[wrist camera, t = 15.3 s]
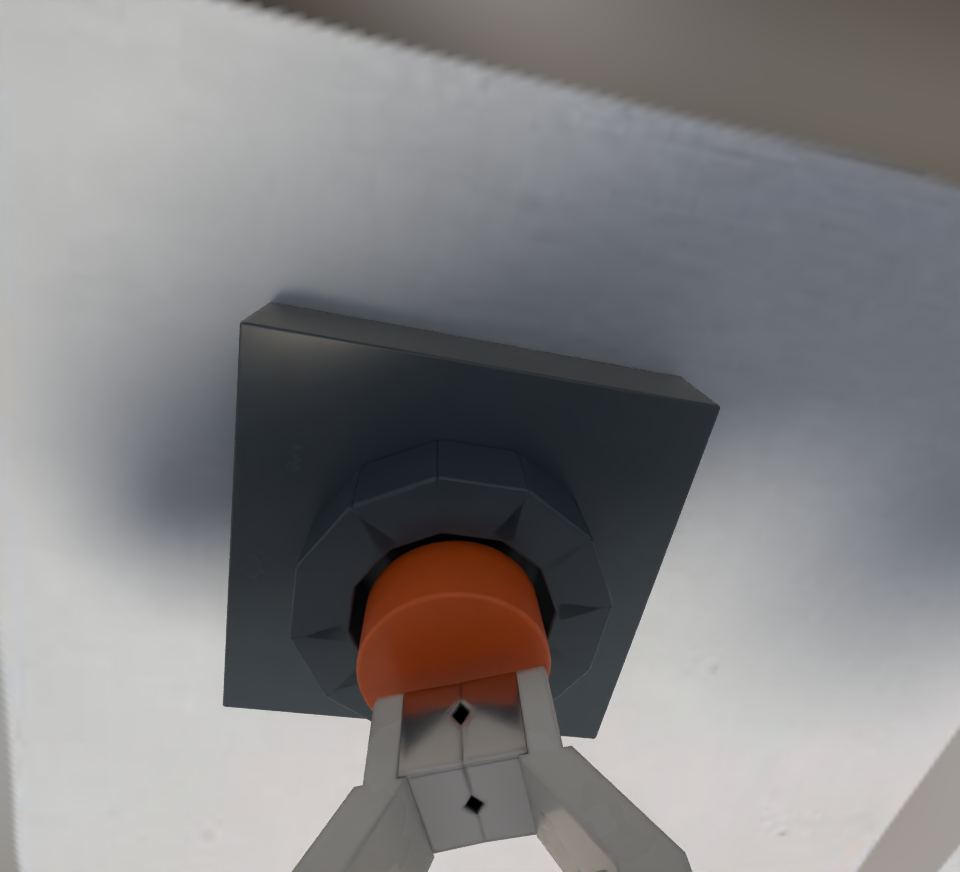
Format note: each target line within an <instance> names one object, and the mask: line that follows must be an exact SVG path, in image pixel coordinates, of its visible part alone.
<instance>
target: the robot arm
mask: <svg viewBox="0 0 960 872" xmlns="http://www.w3.org/2000/svg"><path fill="white" fill-rule="evenodd" d="M516 672H517V675H516ZM535 834H537V837H538V838H539V840H540V841H541V842H542V844H543V845H544V846H545V848H546V849H547V851H548V852H549V853H550V855H551V856H552V857H553V859H554V860H555V861H556V863H557V864H558V865H559V867H560V868H561V869H562V871H563V872H692V870H691V867H690V864H689V862H688V859H687V856H686V854H685V852H684V851H683V850H682V849H681V848H680V847H679V846H678V845H677V844H676V843H675V842H673V841H672V840H671V839H670V838H669V837H668V836H667V835H666V834H665V833H664V832H663V831H662V830H661V829H660V828H659V827H658V826H656V825H655V824H654V823H653V822H652V821H651V820H650V819H649V818H648V817H647V816H646V815H645V814H644V813H643V812H642V811H641V810H639V809H638V808H637V807H636V806H635V805H634V804H633V803H632V802H631V801H630V800H629V799H628V798H627V797H626V796H625V795H624V794H622V793H621V792H620V791H619V790H618V789H617V788H616V787H615V786H614V785H613V784H612V783H611V782H610V781H609V780H608V779H606V778H605V777H604V776H603V775H602V774H601V773H600V772H599V771H598V770H597V769H596V768H595V767H594V766H593V765H592V764H591V763H589V762H588V761H587V760H586V759H585V758H584V757H583V756H582V755H581V754H580V753H579V752H578V751H577V750H576V749H575V748H574V747H572V746H568V747H563V745H562V740H561V736H560V731H559V727H558V722H557V718H556V713H555V708H554V704H553V699H552V695H551V690H550V685H549V681H548V676H547V672H546V669H545V667H544V666H540V667H535V668H530V669H525V670H520V671H515V672H511V673H506V674H501V675H496V676H491V677H486V678H481V679H476V680H471V681H466V682H461V683H459V684H453V685H446V686H440V687H434V688H428V689H422V690H416V691H410V692H406V693H402V694H396V695H389V696H383V697H377V700H376V702H375V704H374V707H373V714H372V721H371V729H370V736H369V743H368V751H367V758H366V765H365V773H364V780H363V785H361V786H356V787H354V788H353V789H352V790H351V792H350V793H349V795H348V796H347V797H346V799H345V800H344V801H343V803H342V804H341V805H340V807H339V808H338V810H337V811H336V812H335V814H334V815H333V816H332V818H331V819H330V820H329V822H328V823H327V825H326V826H325V827H324V829H323V830H322V831H321V833H320V834H319V835H318V837H317V838H316V840H315V841H314V842H313V844H312V845H311V846H310V848H309V849H308V850H307V852H306V853H305V855H304V856H303V857H302V859H301V860H300V861H299V863H298V864H297V865H296V867H295V868H294V870H293V871H292V872H428V870H429V867H430V865H431V863H432V861H433V859H434V855H433V853H438V852H443V851H447V850H452V849H456V848H461V847H465V846H470V845H475V844H479V843H484V842H490V841H496V840H503V839H509V838H516V837H522V836H529V835H535Z"/></svg>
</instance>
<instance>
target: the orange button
mask: <svg viewBox="0 0 960 872" xmlns="http://www.w3.org/2000/svg"><path fill="white" fill-rule="evenodd" d="M540 666H544V667H545V669H546V672H547V676H548V678H549V674H550V669H551V655H550V649H549V645H548V641H547V637H546V633H545V629H544V624H543V620H542V616H541V612H540V608H539V604H538V600H537V596H536V593H535V589H534V586H533V584H532V582H531V580H530V578H529V577H528V575H527V574H526V572H525V571H524V570H523V569H522V568H521V567H520V566H519V565H518V564H517V563H516V562H515V561H514V560H513V559H511V558H510V557H509V556H507V555H506V554H504V553H502V552H501V551H499V550H497V549H494V548H492V547H490V546H487V545H484V544H480V543H476V542H470V541H460V540H450V541H440V542H433V543H430V544H426V545H422V546H420V547H417V548H415V549H412V550H410V551H408V552H406V553H404V554H403V555H401V556H400V557H398V558H397V559H395V560H394V561H393V562H392V563H391V564H389V565H388V566H387V567H386V568H385V569H384V570H383V571H382V573H381V574H380V575H379V576H378V577H377V579H376V581H375V582H374V584H373V586H372V588H371V590H370V593H369V595H368V599H367V604H366V609H365V615H364V621H363V627H362V633H361V639H360V644H359V650H358V656H357V665H356V674H357V681H358V685H359V688H360V691H361V693H362V696H363V698H364V700H365V702H366V703H367V705H368V706H369V707H370V709H371V710H372V711H373V707H374V704H375V702H376V700H377V697H383V696H389V695H396V694H402V693H406V692H410V691H416V690H422V689H428V688H434V687H440V686H446V685H453V684H459V683H461V682H466V681H471V680H476V679H481V678H486V677H491V676H496V675H501V674H506V673H511V672H515V671H520V670H525V669H530V668H535V667H540ZM516 675H517V672H516Z"/></svg>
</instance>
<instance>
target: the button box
mask: <svg viewBox="0 0 960 872" xmlns="http://www.w3.org/2000/svg"><path fill="white" fill-rule="evenodd" d="M719 410H720V406H719V405H717V404H716V403H715V402H714V401H712V400H711V399H710V398H708V397H707V396H706V395H704V394H703V393H702V392H700V391H699V390H698V389H696V388H695V387H694V386H692V385H691V384H690V383H688V382H687V381H686V380H685V379H683V378H682V377H679V376H674V375H668V374H663V373H657V372H652V371H646V370H641V369H635V368H630V367H624V366H619V365H614V364H608V363H603V362H597V361H592V360H586V359H581V358H575V357H570V356H564V355H559V354H553V353H548V352H542V351H537V350H531V349H526V348H520V347H515V346H509V345H504V344H498V343H493V342H487V341H482V340H476V339H471V338H465V337H460V336H454V335H449V334H444V333H438V332H433V331H427V330H422V329H416V328H411V327H405V326H400V325H394V324H389V323H383V322H378V321H372V320H367V319H361V318H356V317H350V316H345V315H339V314H334V313H328V312H323V311H317V310H312V309H306V308H301V307H295V306H290V305H284V304H279V303H273V302H270V303H268V304H267V305H265V306H264V307H262V308H261V309H259V310H258V311H256V312H255V313H253V314H252V315H250V316H249V317H247V318H246V319H244V320H243V321H241V323H240V335H239V357H238V380H237V402H236V425H235V447H234V469H233V492H232V514H231V537H230V559H229V582H228V604H227V627H226V649H225V671H224V694H223V706H225V707H236V708H248V709H259V710H271V711H282V712H294V713H305V714H317V715H328V716H340V717H351V718H362V719H368V720H370V721H372V714H373V711H372V710H371V709H370V707H369V706H368V705H367V703H366V702H365V700H364V698H363V696H362V693H361V691H360V688H359V685H358V681H357V674H356V665H357V656H358V650H359V644H360V639H361V633H362V627H363V621H364V615H365V609H366V604H367V599H368V595H369V593H370V590H371V588H372V586H373V584H374V582H375V581H376V579H377V577H378V576H379V575H380V574H381V573H382V571H383V570H384V569H385V568H386V567H387V566H388V565H389V564H391V563H392V562H393V561H394V560H395V559H397V558H398V557H400V556H401V555H403V554H404V553H406V552H408V551H410V550H412V549H415V548H417V547H420V546H422V545H426V544H430V543H433V542H440V541H450V540H460V541H470V542H476V543H480V544H484V545H487V546H490V547H492V548H494V549H497V550H499V551H501V552H502V553H504V554H506V555H507V556H509V557H510V558H511V559H513V560H514V561H515V562H516V563H517V564H518V565H519V566H520V567H521V568H522V569H523V570H524V571H525V572H526V574H527V575H528V577H529V578H530V580H531V582H532V584H533V586H534V589H535V593H536V596H537V600H538V604H539V608H540V612H541V616H542V620H543V624H544V629H545V633H546V637H547V641H548V645H549V649H550V655H551V669H550V674H549V678H548V681H549V685H550V690H551V695H552V699H553V704H554V708H555V713H556V718H557V722H558V727H559V731H560V736H569V737H581V738H592V739H594V738H596V736H597V733H598V730H599V728H600V725H601V722H602V720H603V717H604V715H605V712H606V709H607V707H608V704H609V701H610V699H611V696H612V693H613V691H614V688H615V685H616V683H617V680H618V677H619V675H620V672H621V670H622V667H623V664H624V662H625V659H626V656H627V654H628V651H629V648H630V646H631V643H632V640H633V638H634V635H635V632H636V630H637V627H638V625H639V622H640V619H641V617H642V614H643V611H644V609H645V606H646V603H647V601H648V598H649V595H650V593H651V590H652V587H653V585H654V582H655V580H656V577H657V574H658V572H659V569H660V566H661V564H662V561H663V558H664V556H665V553H666V550H667V548H668V545H669V542H670V540H671V537H672V535H673V532H674V529H675V527H676V524H677V521H678V519H679V516H680V513H681V511H682V508H683V505H684V503H685V500H686V497H687V495H688V492H689V490H690V487H691V484H692V482H693V479H694V476H695V474H696V471H697V468H698V466H699V463H700V460H701V458H702V455H703V452H704V450H705V447H706V445H707V442H708V439H709V437H710V434H711V431H712V429H713V426H714V423H715V421H716V418H717V415H718V413H719Z"/></svg>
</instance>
